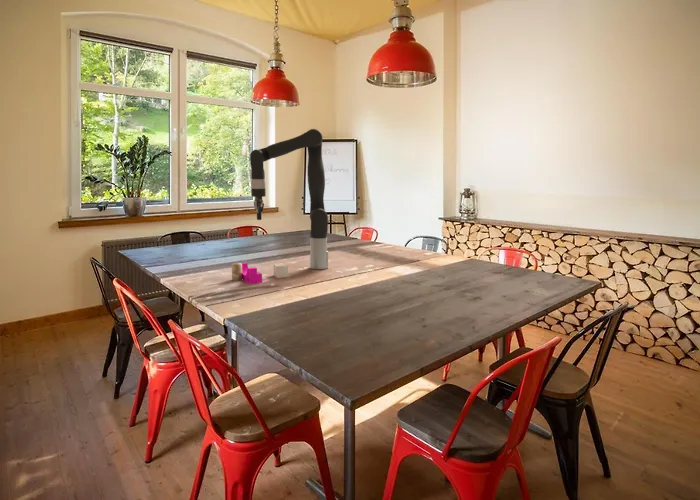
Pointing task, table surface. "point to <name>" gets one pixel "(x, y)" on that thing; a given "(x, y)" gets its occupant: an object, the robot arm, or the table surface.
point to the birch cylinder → (236, 271)
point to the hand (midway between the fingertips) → (259, 219)
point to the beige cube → (280, 270)
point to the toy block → (251, 274)
